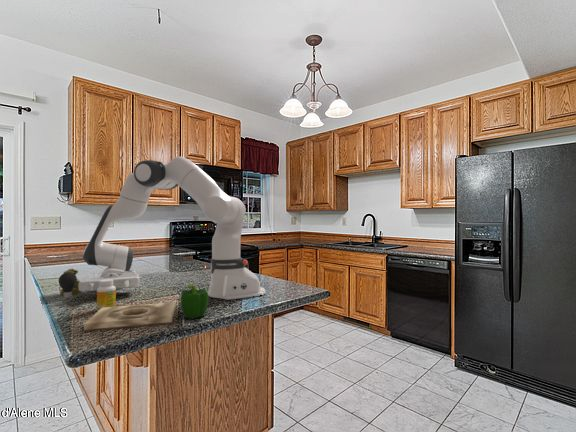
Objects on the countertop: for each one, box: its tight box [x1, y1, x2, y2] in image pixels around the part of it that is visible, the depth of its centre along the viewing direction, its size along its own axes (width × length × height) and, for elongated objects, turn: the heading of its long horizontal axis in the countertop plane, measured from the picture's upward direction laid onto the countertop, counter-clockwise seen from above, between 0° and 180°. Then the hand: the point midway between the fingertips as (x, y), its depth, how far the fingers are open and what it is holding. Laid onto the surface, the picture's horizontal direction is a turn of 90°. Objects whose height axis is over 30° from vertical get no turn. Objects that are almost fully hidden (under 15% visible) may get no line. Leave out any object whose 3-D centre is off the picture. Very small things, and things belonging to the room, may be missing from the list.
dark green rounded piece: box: [59, 268, 83, 297], centre depth 127 cm, size 7×7×10 cm
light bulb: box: [58, 272, 78, 300], centre depth 119 cm, size 6×6×10 cm
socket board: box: [83, 301, 177, 332], centre depth 95 cm, size 22×16×2 cm
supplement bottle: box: [96, 279, 117, 312], centre depth 104 cm, size 5×5×10 cm
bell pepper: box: [180, 284, 210, 320], centre depth 97 cm, size 8×8×10 cm
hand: (109, 286), depth 114 cm, fingers open, 8 cm apart
